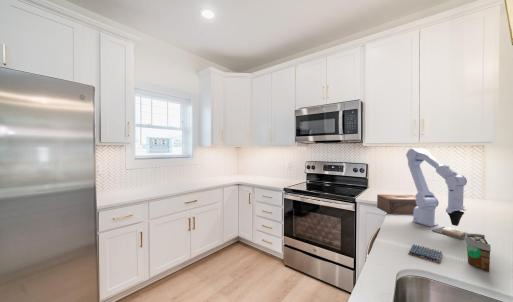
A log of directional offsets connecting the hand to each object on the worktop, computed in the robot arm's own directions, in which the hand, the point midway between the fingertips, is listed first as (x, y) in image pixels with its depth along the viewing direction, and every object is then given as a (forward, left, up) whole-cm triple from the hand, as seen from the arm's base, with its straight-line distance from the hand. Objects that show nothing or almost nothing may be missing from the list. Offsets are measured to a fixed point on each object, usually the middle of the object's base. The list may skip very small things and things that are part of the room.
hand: (454, 225), depth 111 cm
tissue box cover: (-36, +18, -5) cm, 41 cm away
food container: (+18, -30, -5) cm, 35 cm away
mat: (-1, 0, -4) cm, 5 cm away
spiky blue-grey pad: (+5, -39, -5) cm, 40 cm away
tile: (0, +1, -3) cm, 3 cm away
